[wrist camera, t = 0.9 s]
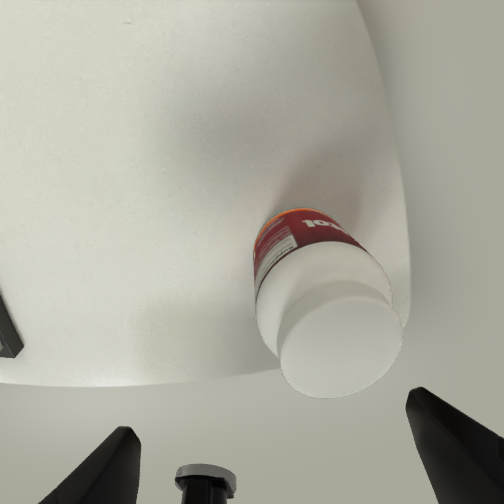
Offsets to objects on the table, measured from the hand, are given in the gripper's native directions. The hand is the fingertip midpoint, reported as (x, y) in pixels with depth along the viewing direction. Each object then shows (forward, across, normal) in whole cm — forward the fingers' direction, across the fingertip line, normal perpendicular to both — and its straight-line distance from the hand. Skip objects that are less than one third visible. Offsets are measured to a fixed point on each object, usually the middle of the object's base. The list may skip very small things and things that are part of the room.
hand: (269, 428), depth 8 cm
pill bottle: (+14, -3, 0) cm, 14 cm away
